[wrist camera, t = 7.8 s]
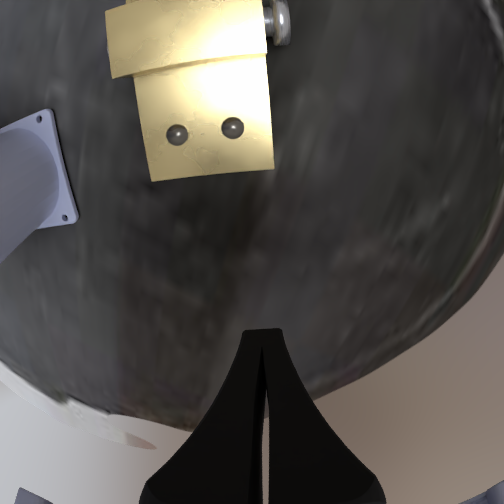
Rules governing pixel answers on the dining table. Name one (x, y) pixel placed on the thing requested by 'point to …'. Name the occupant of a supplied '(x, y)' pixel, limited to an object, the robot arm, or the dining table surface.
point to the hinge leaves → (196, 83)
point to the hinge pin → (274, 22)
